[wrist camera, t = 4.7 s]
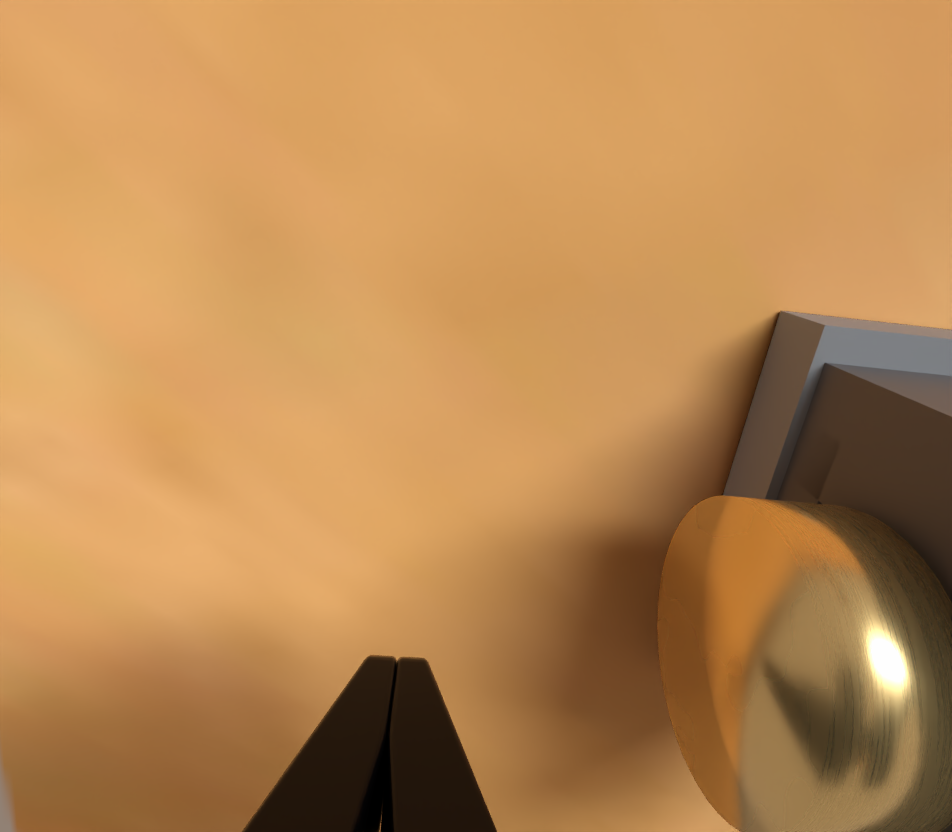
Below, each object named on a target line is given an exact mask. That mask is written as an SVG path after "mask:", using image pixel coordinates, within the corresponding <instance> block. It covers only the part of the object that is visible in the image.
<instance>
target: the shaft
mask: <svg viewBox="0 0 952 832" xmlns="http://www.w3.org/2000/svg"><path fill="white" fill-rule="evenodd" d="M657 633H658V651H659V662H660V670H661V677H662V683H663V688H664V694H665V699H666V703H667V707H668V711H669V715H670V719H671V722H672V725H673V729H674V732H675V735H676V738H677V741H678V743H679V746H680V749H681V751H682V754H683V756H684V759H685V761H686V763H687V765H688V767H689V770H690V772H691V773H692V775H693V777H694V779H695V781H696V783H697V785H698V786H699V788H700V789H701V791H702V792H703V794H704V796H705V797H706V799H707V800H708V801H709V803H710V804H711V805H712V806H713V808H714V809H715V810H716V811H717V813H718V814H719V815H721V816H722V817H723V818H724V819H725V820H726V821H727V822H728V823H729V824H730V825H732V826H733V827H735V828H736V829H738V830H739V831H740V832H941V831H942V830H944V829H945V828H946V827H948V826H949V825H950V824H951V823H952V602H951V600H950V598H949V596H948V595H947V593H946V591H945V590H944V588H943V586H942V585H941V583H940V581H939V580H938V578H937V577H936V575H935V574H934V573H933V571H932V570H931V569H930V567H929V566H928V565H927V563H926V562H925V561H924V559H923V558H922V557H921V556H920V555H919V554H918V553H917V552H916V551H915V549H914V548H913V547H912V546H911V545H910V544H909V543H908V542H907V541H906V540H905V539H904V538H902V537H901V536H900V535H899V534H898V533H896V532H895V531H894V530H893V529H892V528H890V527H889V526H887V525H886V524H884V523H883V522H881V521H880V520H878V519H876V518H875V517H873V516H870V515H868V514H866V513H864V512H862V511H859V510H856V509H852V508H849V507H845V506H837V505H826V504H815V503H803V502H792V501H780V500H769V499H757V498H746V497H734V496H723V495H720V496H713V497H710V498H707V499H705V500H702V501H701V502H699V503H698V504H696V505H695V506H694V507H693V508H692V509H691V510H690V511H689V512H688V513H687V514H686V515H685V517H684V518H683V519H682V521H681V522H680V524H679V526H678V528H677V529H676V531H675V533H674V535H673V538H672V540H671V542H670V545H669V548H668V551H667V554H666V558H665V562H664V566H663V570H662V576H661V581H660V589H659V598H658V614H657Z"/></svg>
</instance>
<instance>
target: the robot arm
mask: <svg viewBox="0 0 952 832" xmlns="http://www.w3.org/2000/svg"><path fill="white" fill-rule="evenodd" d="M381 816H382V820H381ZM380 824H381V832H497V830H496V828H495V825H494V823H493V821H492V818H491V816H490V813H489V811H488V808H487V806H486V803H485V801H484V798H483V796H482V793H481V791H480V789H479V786H478V784H477V781H476V779H475V776H474V774H473V771H472V769H471V766H470V764H469V761H468V759H467V757H466V754H465V752H464V749H463V747H462V744H461V742H460V739H459V737H458V734H457V732H456V729H455V727H454V725H453V722H452V720H451V717H450V715H449V712H448V710H447V707H446V705H445V702H444V700H443V697H442V695H441V693H440V690H439V688H438V685H437V683H436V680H435V678H434V675H433V673H432V670H431V668H430V665H429V663H428V662H427V660H426V659H424V658H415V657H401V658H399V659H398V661H397V660H396V658H395V657H393V656H378V655H370V656H368V657H367V658H366V659H365V660H364V662H363V663H362V664H361V666H360V667H359V669H358V670H357V671H356V673H355V674H354V676H353V677H352V678H351V680H350V681H349V683H348V684H347V685H346V687H345V688H344V690H343V691H342V692H341V694H340V695H339V697H338V698H337V699H336V701H335V702H334V704H333V705H332V706H331V708H330V709H329V711H328V712H327V713H326V715H325V716H324V718H323V719H322V720H321V722H320V723H319V725H318V726H317V727H316V729H315V730H314V732H313V733H312V734H311V736H310V737H309V739H308V740H307V741H306V743H305V744H304V746H303V747H302V748H301V750H300V751H299V753H298V754H297V755H296V757H295V758H294V760H293V761H292V762H291V764H290V765H289V767H288V768H287V769H286V771H285V772H284V774H283V775H282V776H281V778H280V779H279V781H278V782H277V783H276V785H275V786H274V788H273V789H272V790H271V792H270V793H269V795H268V796H267V797H266V799H265V800H264V802H263V803H262V804H261V806H260V807H259V809H258V810H257V811H256V813H255V814H254V816H253V817H252V818H251V820H250V821H249V823H248V824H247V825H246V827H245V828H244V830H243V831H242V832H379V831H380Z"/></svg>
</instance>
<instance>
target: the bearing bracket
mask: <svg viewBox="0 0 952 832" xmlns="http://www.w3.org/2000/svg"><path fill="white" fill-rule="evenodd" d="M723 496H734V497H746V498H757V499H769V500H780V501H792V502H803V503H815V504H826V505H837V506H845V507H849V508H852V509H856V510H859V511H862V512H864V513H866V514H868V515H870V516H873V517H875V518H876V519H878V520H880V521H881V522H883V523H884V524H886V525H887V526H889V527H890V528H892V529H893V530H894V531H895V532H896V533H898V534H899V535H900V536H901V537H902V538H904V539H905V540H906V541H907V542H908V543H909V544H910V545H911V546H912V547H913V548H914V549H915V551H916V552H917V553H918V554H919V555H920V556H921V557H922V558H923V559H924V561H925V562H926V563H927V565H928V566H929V567H930V569H931V570H932V571H933V573H934V574H935V575H936V577H937V578H938V580H939V581H940V583H941V585H942V586H943V588H944V590H945V591H946V593H947V595H948V596H949V598H950V600H951V602H952V330H948V329H939V328H930V327H921V326H913V325H904V324H895V323H886V322H877V321H868V320H859V319H850V318H841V317H832V316H823V315H814V314H805V313H797V312H788V311H780V314H779V317H778V321H777V324H776V327H775V330H774V333H773V337H772V340H771V343H770V346H769V349H768V352H767V356H766V359H765V362H764V365H763V368H762V372H761V375H760V378H759V381H758V384H757V388H756V391H755V394H754V397H753V400H752V403H751V407H750V410H749V413H748V416H747V419H746V423H745V426H744V429H743V432H742V435H741V439H740V442H739V445H738V448H737V451H736V454H735V458H734V461H733V464H732V467H731V470H730V474H729V477H728V480H727V483H726V486H725V490H724V493H723ZM941 832H952V823H951V824H950V825H949V826H948V827H946V828H945V829H944V830H942V831H941Z"/></svg>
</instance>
